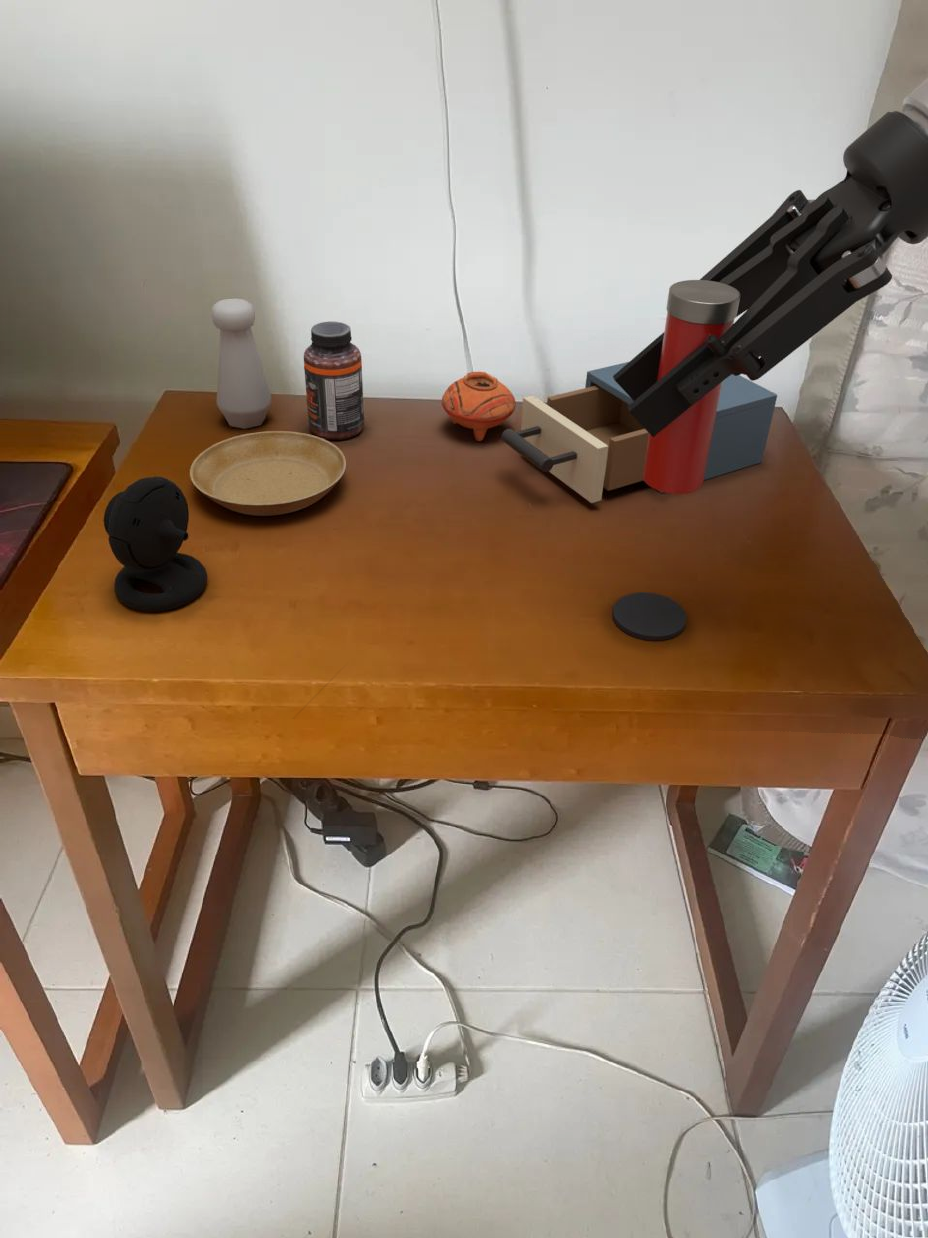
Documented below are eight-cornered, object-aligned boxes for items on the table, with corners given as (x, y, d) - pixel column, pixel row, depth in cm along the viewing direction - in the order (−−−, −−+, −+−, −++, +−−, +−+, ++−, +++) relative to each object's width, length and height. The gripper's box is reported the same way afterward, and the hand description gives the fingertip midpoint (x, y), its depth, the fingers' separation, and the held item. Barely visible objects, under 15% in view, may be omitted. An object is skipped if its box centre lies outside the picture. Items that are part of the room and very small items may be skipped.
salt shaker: (279, 411, 109) (268, 294, 102) (264, 434, 105) (251, 314, 97) (228, 406, 110) (214, 290, 102) (211, 429, 105) (194, 310, 97)
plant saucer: (171, 522, 90) (166, 497, 89) (220, 448, 102) (217, 425, 100) (328, 535, 89) (326, 510, 88) (360, 458, 101) (359, 435, 99)
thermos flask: (709, 471, 74) (745, 285, 65) (698, 500, 70) (734, 307, 62) (648, 459, 75) (676, 275, 67) (635, 487, 72) (662, 297, 63)
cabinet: (661, 493, 97) (673, 423, 92) (579, 437, 106) (586, 371, 101) (762, 462, 103) (777, 394, 98) (676, 412, 112) (687, 347, 107)
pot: (483, 403, 111) (495, 352, 106) (520, 445, 107) (535, 394, 103) (423, 416, 108) (432, 364, 103) (458, 460, 104) (470, 408, 99)
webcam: (159, 552, 86) (139, 450, 80) (227, 576, 84) (211, 472, 78) (94, 598, 81) (67, 491, 75) (165, 625, 78) (143, 517, 72)
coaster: (692, 606, 82) (693, 601, 82) (678, 648, 77) (678, 643, 77) (621, 590, 84) (622, 585, 83) (604, 630, 79) (604, 625, 79)
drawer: (555, 514, 91) (560, 458, 88) (485, 458, 100) (487, 405, 96) (691, 473, 98) (701, 419, 95) (615, 424, 107) (621, 373, 103)
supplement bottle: (301, 422, 107) (293, 321, 100) (353, 413, 109) (348, 313, 102) (319, 446, 103) (311, 341, 96) (372, 436, 105) (368, 333, 98)
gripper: (847, 80, 65) (578, 323, 74) (974, 137, 51) (624, 428, 60) (901, 166, 69) (638, 388, 78) (1032, 242, 55) (694, 501, 64)
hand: (632, 405), depth 69 cm, fingers closed on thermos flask, 4 cm apart
